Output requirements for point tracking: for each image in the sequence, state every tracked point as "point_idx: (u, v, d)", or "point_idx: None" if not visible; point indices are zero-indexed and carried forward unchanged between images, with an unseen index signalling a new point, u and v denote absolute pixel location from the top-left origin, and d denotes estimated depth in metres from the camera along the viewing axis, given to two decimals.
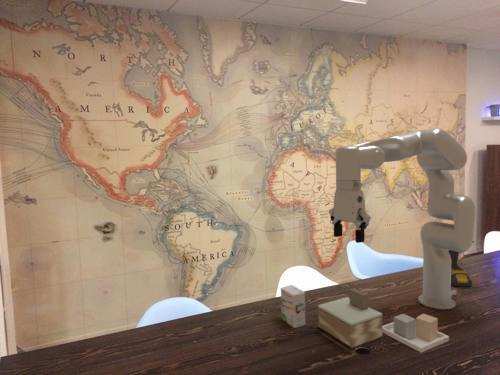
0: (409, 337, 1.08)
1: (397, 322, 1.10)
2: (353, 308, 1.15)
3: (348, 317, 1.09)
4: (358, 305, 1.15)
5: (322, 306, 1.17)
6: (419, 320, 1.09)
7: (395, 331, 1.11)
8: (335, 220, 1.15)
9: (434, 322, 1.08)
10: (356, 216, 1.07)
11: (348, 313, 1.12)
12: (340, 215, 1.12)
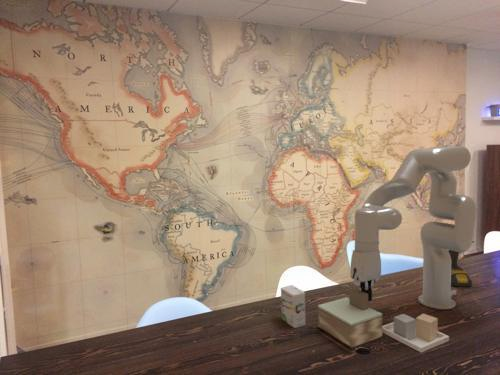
0: (409, 337, 1.08)
1: (397, 322, 1.10)
2: (353, 308, 1.15)
3: (348, 317, 1.09)
4: (358, 305, 1.15)
5: (322, 306, 1.17)
6: (419, 320, 1.09)
7: (395, 331, 1.11)
8: (366, 284, 1.16)
9: (434, 322, 1.08)
10: None
11: (348, 313, 1.12)
12: (368, 276, 1.15)
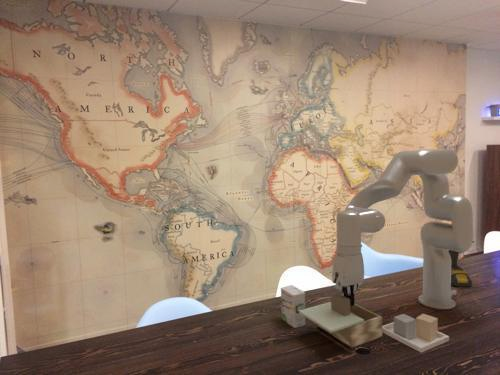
0: (409, 337, 1.08)
1: (397, 322, 1.10)
2: (334, 314, 1.11)
3: (328, 323, 1.05)
4: (340, 311, 1.11)
5: (303, 311, 1.14)
6: (419, 320, 1.09)
7: (395, 331, 1.11)
8: (349, 289, 1.12)
9: (434, 322, 1.08)
10: None
11: (329, 319, 1.08)
12: (351, 280, 1.11)
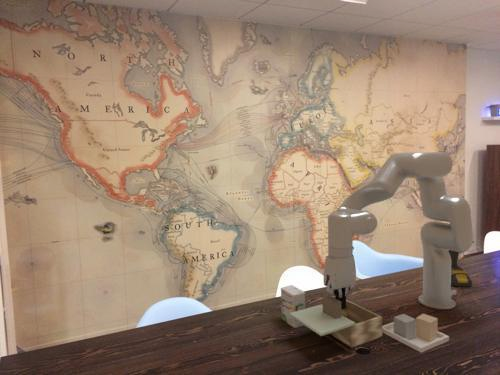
0: (409, 337, 1.08)
1: (397, 322, 1.10)
2: (326, 316, 1.10)
3: (319, 326, 1.03)
4: (331, 313, 1.09)
5: (294, 314, 1.12)
6: (419, 320, 1.09)
7: (395, 331, 1.11)
8: (340, 291, 1.10)
9: (434, 322, 1.08)
10: None
11: (319, 322, 1.06)
12: (342, 283, 1.09)
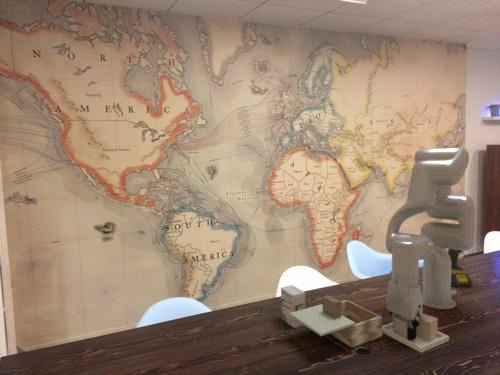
0: None
1: (397, 322, 1.10)
2: (326, 316, 1.10)
3: (319, 326, 1.03)
4: (331, 313, 1.09)
5: (294, 314, 1.12)
6: None
7: (395, 331, 1.11)
8: None
9: (434, 322, 1.08)
10: None
11: (319, 322, 1.06)
12: None
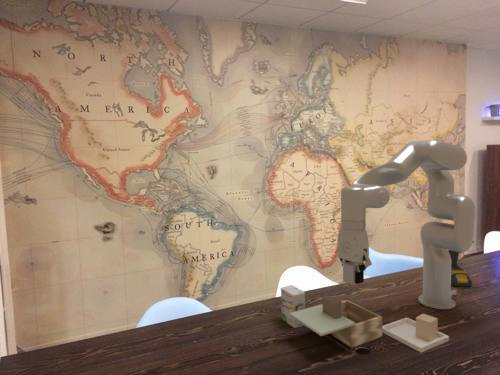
0: None
1: (346, 267, 1.13)
2: (326, 316, 1.10)
3: (319, 326, 1.03)
4: (331, 313, 1.09)
5: (294, 314, 1.12)
6: (419, 320, 1.09)
7: (344, 276, 1.14)
8: None
9: (434, 322, 1.08)
10: None
11: (319, 322, 1.06)
12: None
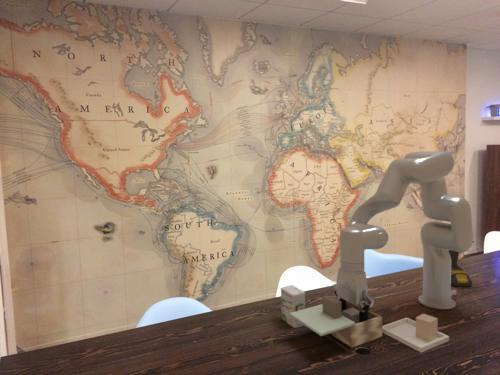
0: None
1: (345, 315, 1.15)
2: (326, 316, 1.10)
3: (319, 326, 1.03)
4: (331, 313, 1.09)
5: (294, 314, 1.12)
6: (419, 320, 1.09)
7: None
8: None
9: (434, 322, 1.08)
10: None
11: (319, 322, 1.06)
12: None
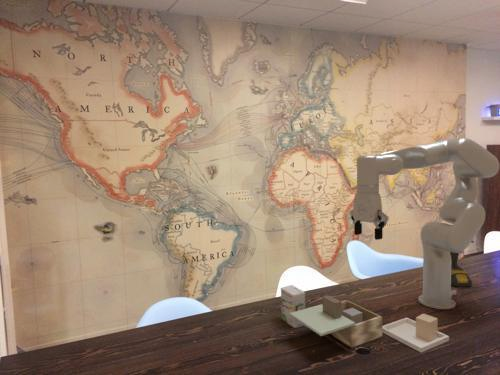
0: None
1: (345, 315, 1.15)
2: (326, 316, 1.10)
3: (319, 326, 1.03)
4: (331, 313, 1.09)
5: (294, 314, 1.12)
6: (419, 320, 1.09)
7: None
8: None
9: (434, 322, 1.08)
10: None
11: (319, 322, 1.06)
12: None
